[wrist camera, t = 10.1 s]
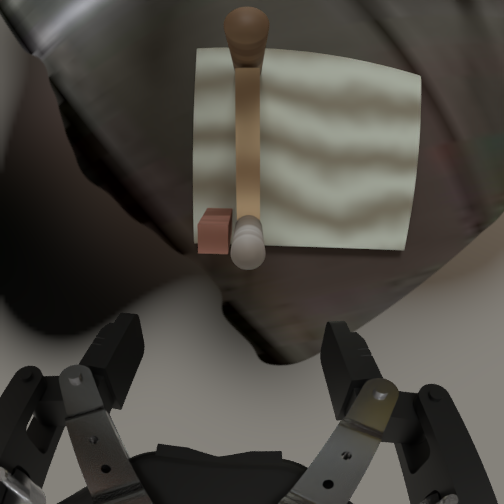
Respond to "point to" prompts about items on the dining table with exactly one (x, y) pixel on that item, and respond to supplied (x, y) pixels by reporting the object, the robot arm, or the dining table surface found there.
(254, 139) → the wooden panel
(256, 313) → the dining table surface
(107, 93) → the dining table surface
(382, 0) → the dining table surface
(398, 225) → the towel on rod
